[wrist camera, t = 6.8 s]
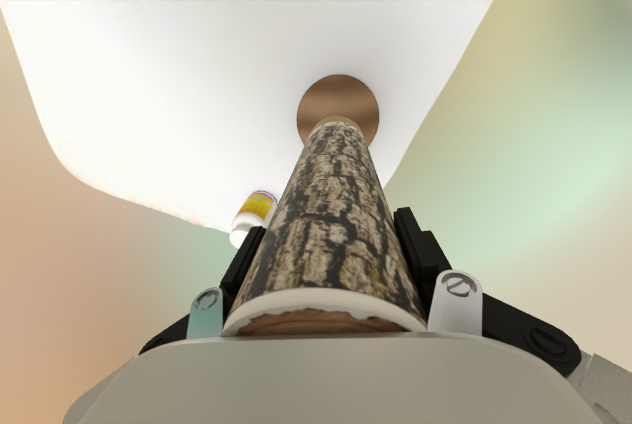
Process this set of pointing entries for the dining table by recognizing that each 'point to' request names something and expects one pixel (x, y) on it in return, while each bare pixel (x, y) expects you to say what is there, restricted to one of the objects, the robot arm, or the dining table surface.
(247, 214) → the supplement bottle
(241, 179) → the dining table surface
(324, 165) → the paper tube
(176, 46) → the dining table surface
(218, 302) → the robot arm
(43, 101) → the dining table surface
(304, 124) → the holder base
